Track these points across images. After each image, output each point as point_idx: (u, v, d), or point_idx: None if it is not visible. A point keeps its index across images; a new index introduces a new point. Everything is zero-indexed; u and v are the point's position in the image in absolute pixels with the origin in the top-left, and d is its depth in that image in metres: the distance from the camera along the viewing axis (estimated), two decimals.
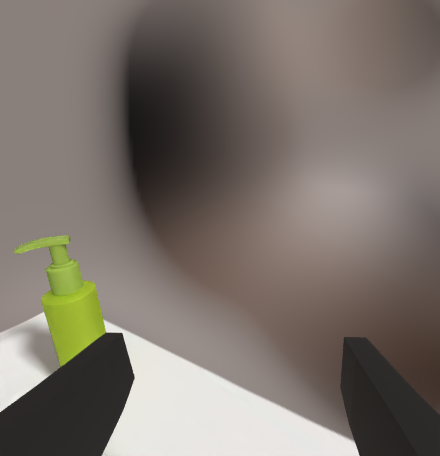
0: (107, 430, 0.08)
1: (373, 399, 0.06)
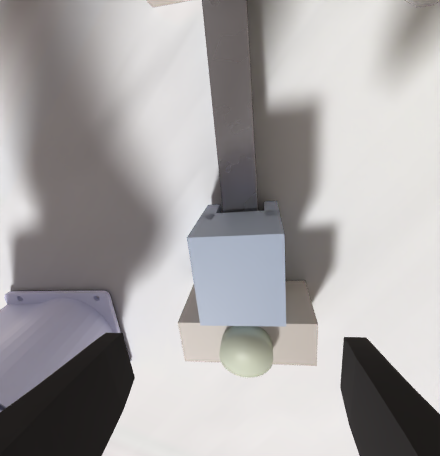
0: (107, 431, 0.08)
1: (373, 399, 0.06)
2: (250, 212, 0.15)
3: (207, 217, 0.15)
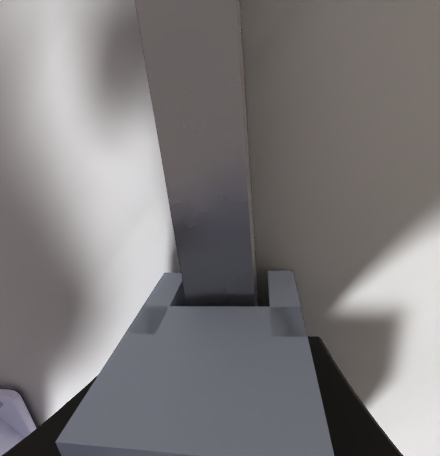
0: None
1: None
2: (239, 311, 0.07)
3: (147, 323, 0.07)
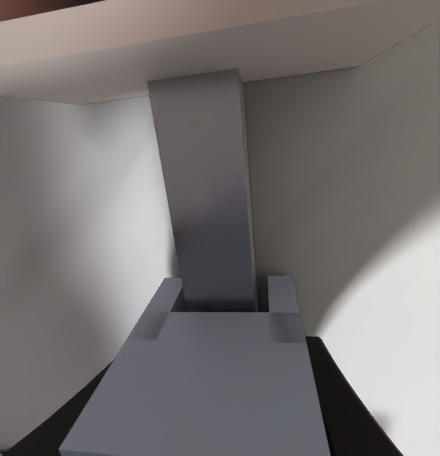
0: None
1: None
2: (239, 317, 0.07)
3: (148, 329, 0.07)
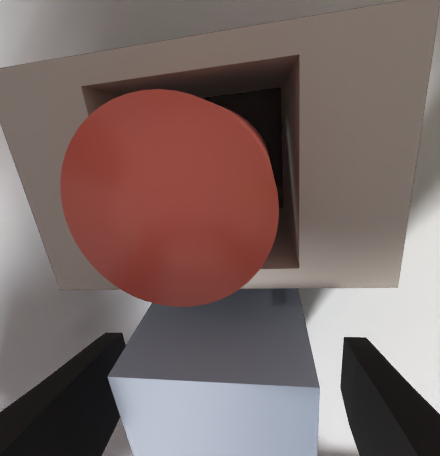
0: (107, 431, 0.08)
1: (373, 399, 0.06)
2: None
3: None
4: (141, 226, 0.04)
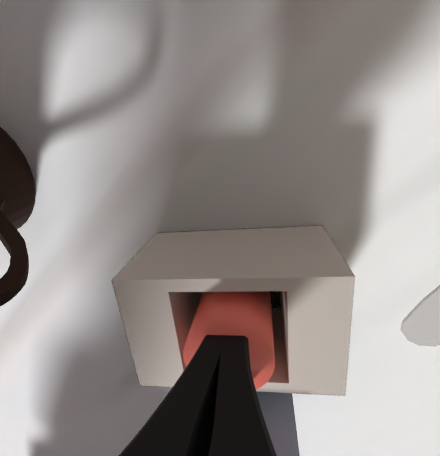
0: None
1: None
2: None
3: None
4: None
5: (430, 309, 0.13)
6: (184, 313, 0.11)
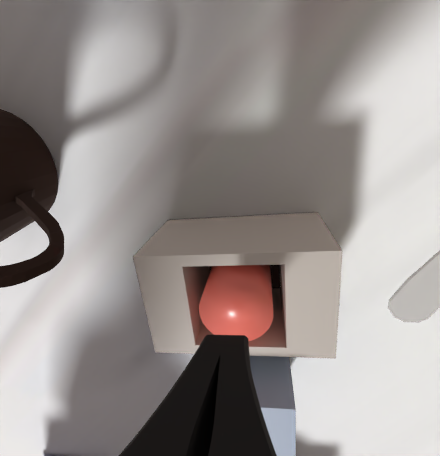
0: None
1: None
2: None
3: None
4: (226, 316, 0.11)
5: (414, 288, 0.14)
6: (194, 288, 0.12)
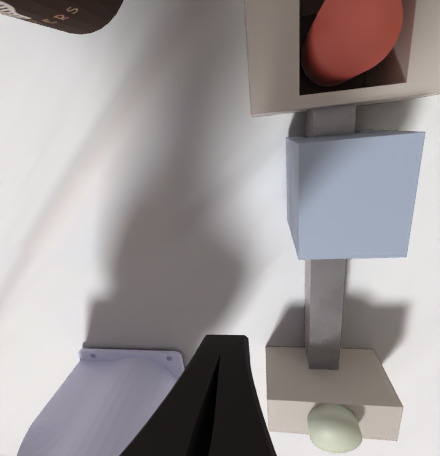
0: None
1: None
2: (349, 133, 0.13)
3: (300, 138, 0.13)
4: (346, 34, 0.10)
5: None
6: None
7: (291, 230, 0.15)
